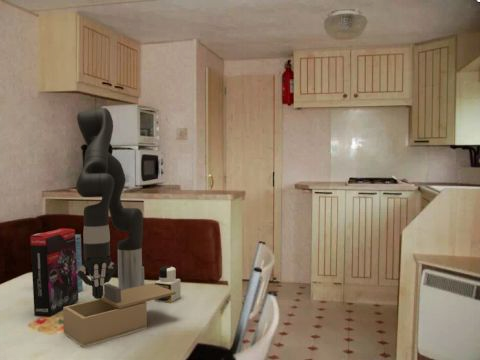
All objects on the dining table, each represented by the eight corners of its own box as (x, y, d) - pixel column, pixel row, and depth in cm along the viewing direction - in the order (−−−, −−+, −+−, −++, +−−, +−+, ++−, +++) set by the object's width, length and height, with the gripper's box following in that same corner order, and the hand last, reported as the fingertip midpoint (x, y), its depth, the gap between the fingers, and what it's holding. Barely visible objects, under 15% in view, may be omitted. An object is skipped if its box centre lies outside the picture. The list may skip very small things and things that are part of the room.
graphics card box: (49, 317, 144) (47, 235, 143) (31, 316, 145) (29, 235, 144) (78, 301, 161) (77, 228, 160) (62, 300, 162) (60, 227, 161)
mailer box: (124, 316, 144) (124, 293, 143) (146, 328, 133) (146, 302, 133) (63, 333, 130) (63, 307, 130) (83, 347, 120) (82, 318, 119)
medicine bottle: (154, 300, 160) (153, 268, 160) (164, 295, 167) (164, 264, 166) (171, 303, 158) (170, 270, 157) (180, 297, 164) (180, 266, 164)
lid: (152, 285, 151) (152, 272, 150) (175, 294, 140) (175, 279, 140) (97, 298, 137) (97, 283, 137) (118, 308, 127) (118, 292, 127)
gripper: (111, 236, 136) (112, 291, 137) (69, 241, 127) (70, 300, 128) (123, 239, 131) (124, 296, 131) (80, 244, 122) (81, 305, 122)
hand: (97, 297), depth 129 cm, fingers closed
